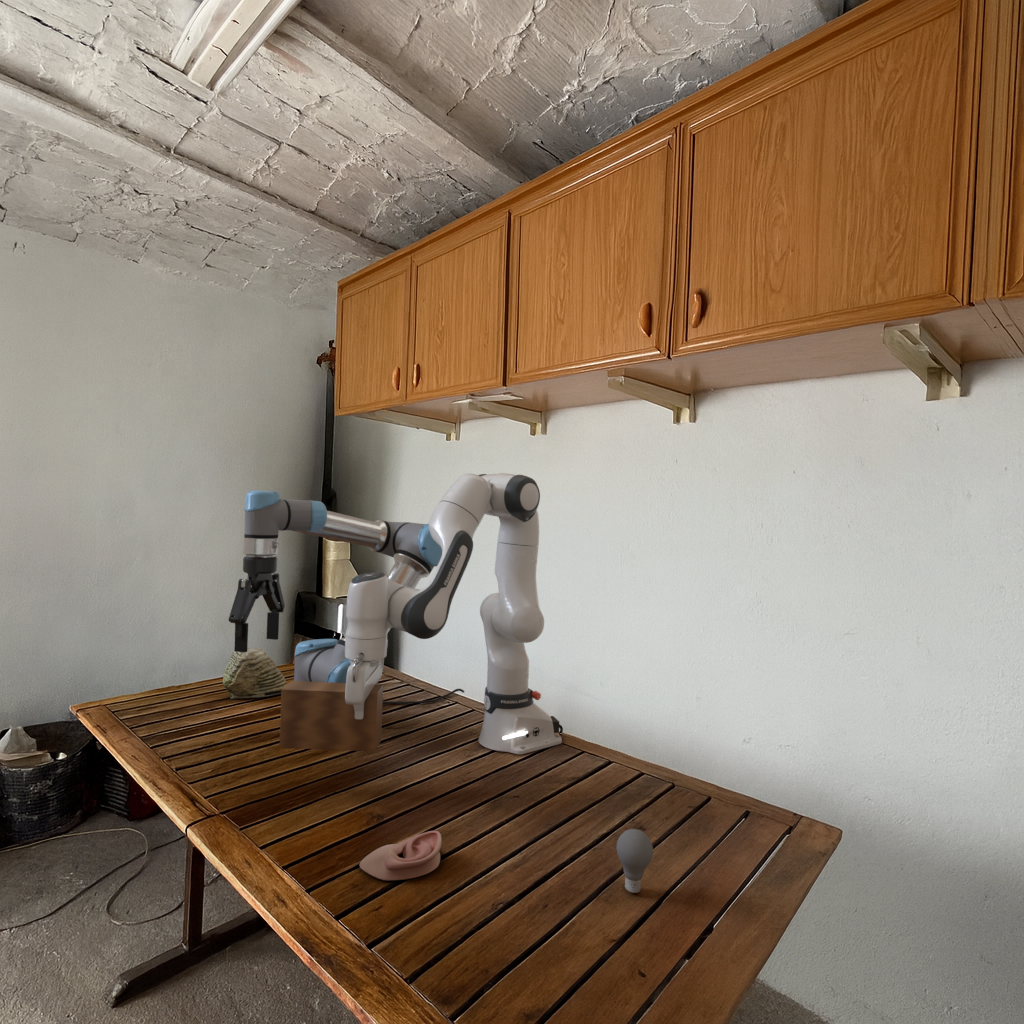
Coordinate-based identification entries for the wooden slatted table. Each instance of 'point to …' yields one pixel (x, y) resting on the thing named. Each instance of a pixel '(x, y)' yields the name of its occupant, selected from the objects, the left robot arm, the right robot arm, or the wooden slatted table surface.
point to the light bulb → (634, 857)
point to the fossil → (252, 675)
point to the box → (328, 718)
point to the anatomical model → (405, 858)
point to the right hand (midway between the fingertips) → (363, 712)
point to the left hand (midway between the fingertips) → (257, 645)
